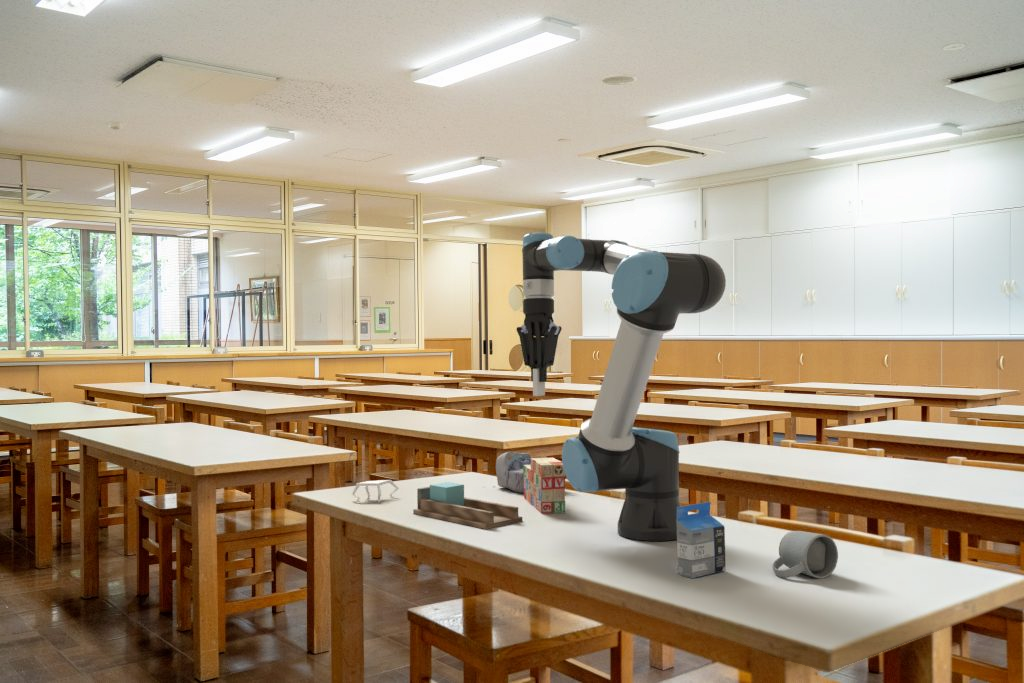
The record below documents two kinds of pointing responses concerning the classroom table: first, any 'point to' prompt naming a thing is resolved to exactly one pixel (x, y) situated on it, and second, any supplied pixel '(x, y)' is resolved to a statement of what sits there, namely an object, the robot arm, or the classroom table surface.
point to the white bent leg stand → (374, 483)
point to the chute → (467, 511)
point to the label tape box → (699, 542)
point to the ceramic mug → (806, 555)
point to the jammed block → (447, 493)
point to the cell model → (512, 470)
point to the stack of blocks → (545, 485)
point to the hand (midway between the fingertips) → (539, 395)
